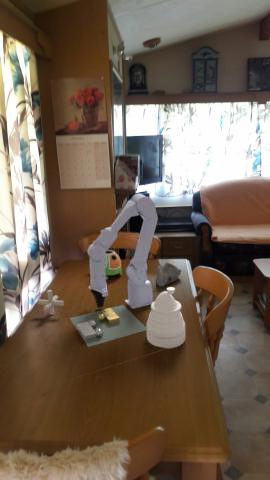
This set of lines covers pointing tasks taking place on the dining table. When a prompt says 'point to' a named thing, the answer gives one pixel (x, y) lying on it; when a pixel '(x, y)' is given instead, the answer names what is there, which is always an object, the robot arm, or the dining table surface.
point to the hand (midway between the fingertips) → (100, 306)
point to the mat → (111, 332)
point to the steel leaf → (89, 330)
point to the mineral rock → (167, 274)
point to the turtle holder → (112, 264)
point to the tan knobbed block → (109, 316)
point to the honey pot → (166, 321)
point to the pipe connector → (50, 302)
